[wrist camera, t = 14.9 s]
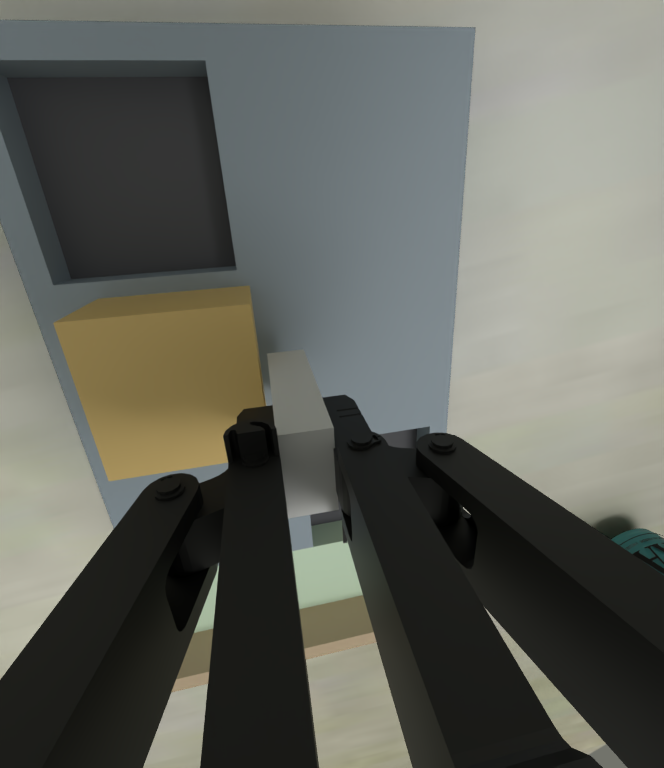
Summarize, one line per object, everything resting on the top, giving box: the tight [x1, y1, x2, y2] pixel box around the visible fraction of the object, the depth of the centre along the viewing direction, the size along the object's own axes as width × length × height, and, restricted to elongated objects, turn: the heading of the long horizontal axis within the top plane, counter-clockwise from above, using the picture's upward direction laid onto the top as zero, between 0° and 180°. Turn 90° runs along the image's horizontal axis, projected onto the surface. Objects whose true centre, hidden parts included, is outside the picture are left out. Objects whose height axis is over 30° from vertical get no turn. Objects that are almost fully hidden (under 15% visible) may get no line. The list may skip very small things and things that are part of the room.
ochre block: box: [53, 285, 266, 481], centre depth 15 cm, size 6×6×4 cm
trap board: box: [0, 20, 475, 692], centre depth 19 cm, size 30×18×4 cm, turn 3°
